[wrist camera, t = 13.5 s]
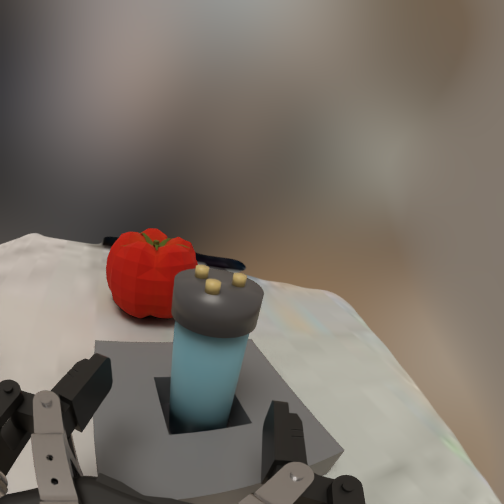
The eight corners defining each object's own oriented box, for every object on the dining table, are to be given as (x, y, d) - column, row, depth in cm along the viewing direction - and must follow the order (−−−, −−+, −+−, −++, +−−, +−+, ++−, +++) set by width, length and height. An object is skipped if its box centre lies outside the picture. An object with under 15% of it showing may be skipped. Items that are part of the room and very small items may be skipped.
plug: (173, 455, 16) (186, 292, 12) (159, 407, 20) (169, 257, 17) (238, 445, 18) (282, 294, 15) (216, 403, 22) (244, 262, 19)
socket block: (113, 519, 9) (102, 502, 8) (98, 368, 22) (95, 340, 22) (326, 473, 16) (344, 450, 15) (245, 364, 30) (251, 339, 29)
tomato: (201, 335, 34) (214, 256, 31) (98, 327, 29) (97, 243, 27) (189, 291, 46) (198, 230, 44) (112, 283, 41) (116, 220, 39)
